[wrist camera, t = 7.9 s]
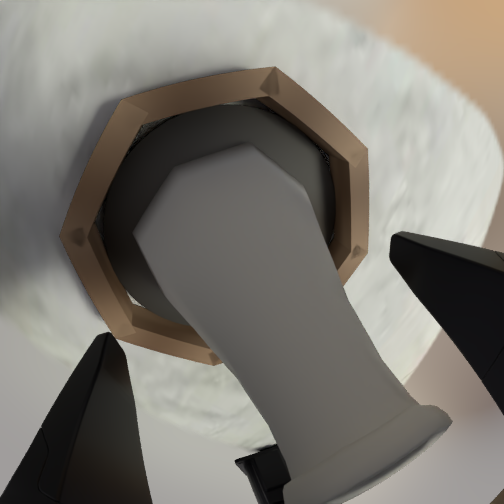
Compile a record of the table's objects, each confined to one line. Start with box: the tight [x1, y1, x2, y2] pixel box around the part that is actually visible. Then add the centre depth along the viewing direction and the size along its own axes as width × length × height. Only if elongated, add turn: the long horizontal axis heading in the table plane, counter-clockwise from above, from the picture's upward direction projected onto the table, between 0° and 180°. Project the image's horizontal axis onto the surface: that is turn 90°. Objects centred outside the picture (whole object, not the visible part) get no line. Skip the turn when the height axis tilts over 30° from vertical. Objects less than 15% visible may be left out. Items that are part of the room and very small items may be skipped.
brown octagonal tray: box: [59, 67, 369, 366], centre depth 11 cm, size 12×12×2 cm
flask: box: [132, 142, 452, 504], centre depth 7 cm, size 7×7×10 cm
